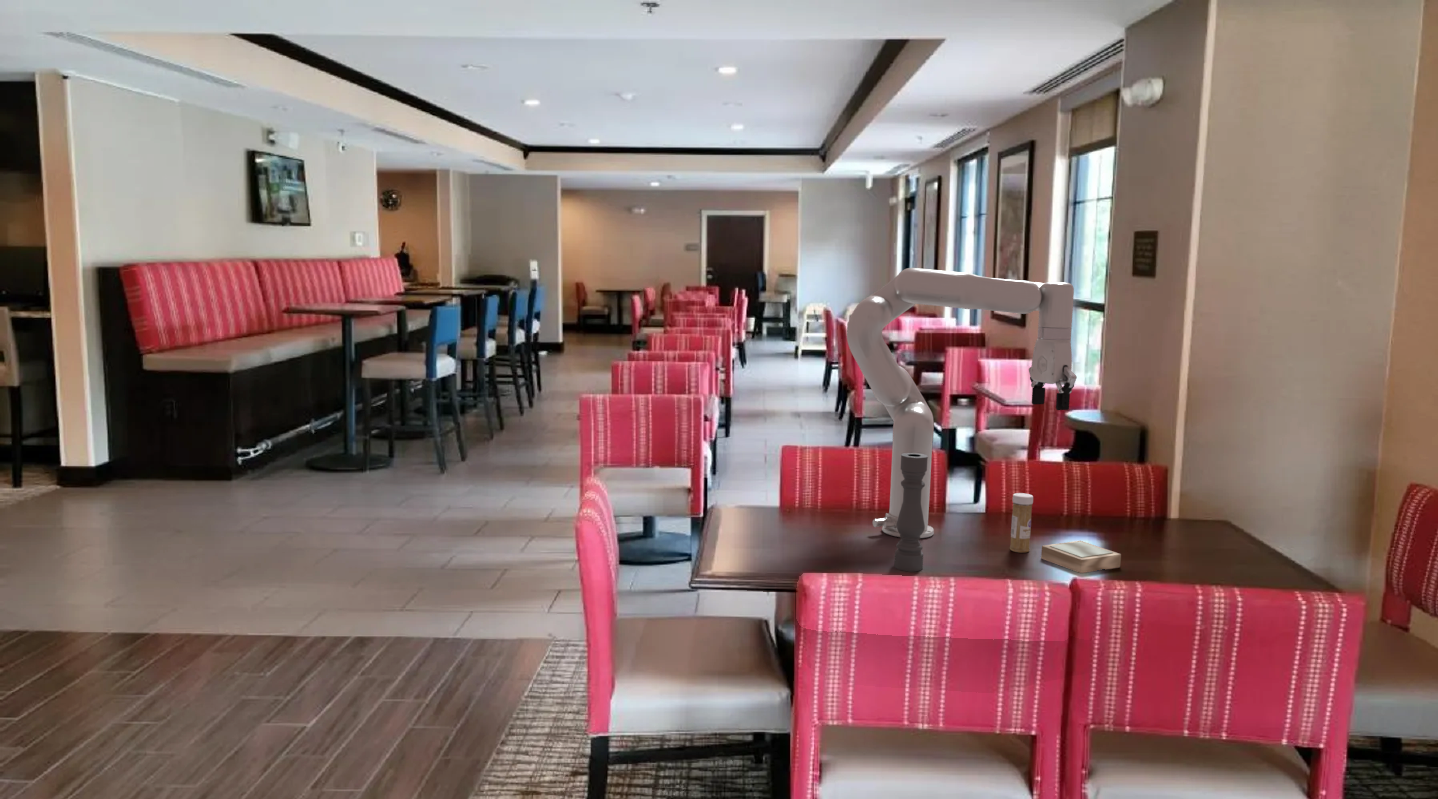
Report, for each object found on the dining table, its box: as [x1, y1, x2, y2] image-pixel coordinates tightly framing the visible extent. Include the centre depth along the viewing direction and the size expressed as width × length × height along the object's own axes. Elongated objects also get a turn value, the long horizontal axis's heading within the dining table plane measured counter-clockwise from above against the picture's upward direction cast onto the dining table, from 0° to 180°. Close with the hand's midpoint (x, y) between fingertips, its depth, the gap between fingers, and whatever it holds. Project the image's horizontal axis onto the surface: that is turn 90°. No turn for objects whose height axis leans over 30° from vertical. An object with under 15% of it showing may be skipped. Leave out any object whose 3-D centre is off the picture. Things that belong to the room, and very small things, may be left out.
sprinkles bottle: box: [1009, 492, 1034, 554], centre depth 243 cm, size 5×5×14 cm
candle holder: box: [893, 453, 928, 572], centre depth 226 cm, size 6×6×25 cm
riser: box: [1040, 540, 1122, 574], centre depth 235 cm, size 12×12×3 cm
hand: (1049, 406), depth 246 cm, fingers open, 9 cm apart
